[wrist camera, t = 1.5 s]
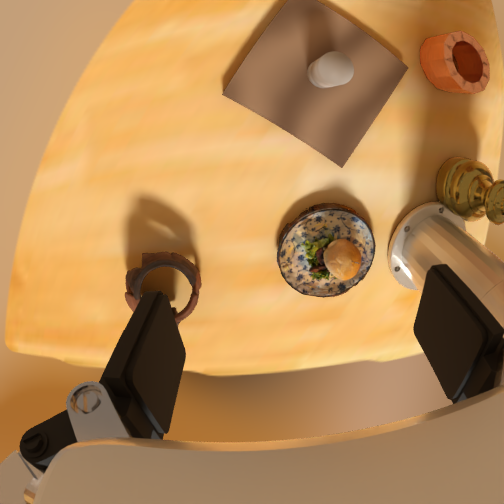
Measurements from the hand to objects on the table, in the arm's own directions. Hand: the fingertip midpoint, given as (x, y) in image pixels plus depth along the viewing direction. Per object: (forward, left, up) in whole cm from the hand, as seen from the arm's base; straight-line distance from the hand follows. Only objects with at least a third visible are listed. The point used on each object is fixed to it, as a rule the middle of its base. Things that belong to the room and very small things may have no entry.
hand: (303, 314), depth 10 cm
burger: (-11, +4, -24) cm, 26 cm away
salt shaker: (-21, -13, -23) cm, 34 cm away
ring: (-10, -24, -23) cm, 35 cm away
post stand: (+1, -12, -23) cm, 26 cm away
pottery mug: (+3, +19, -23) cm, 30 cm away
